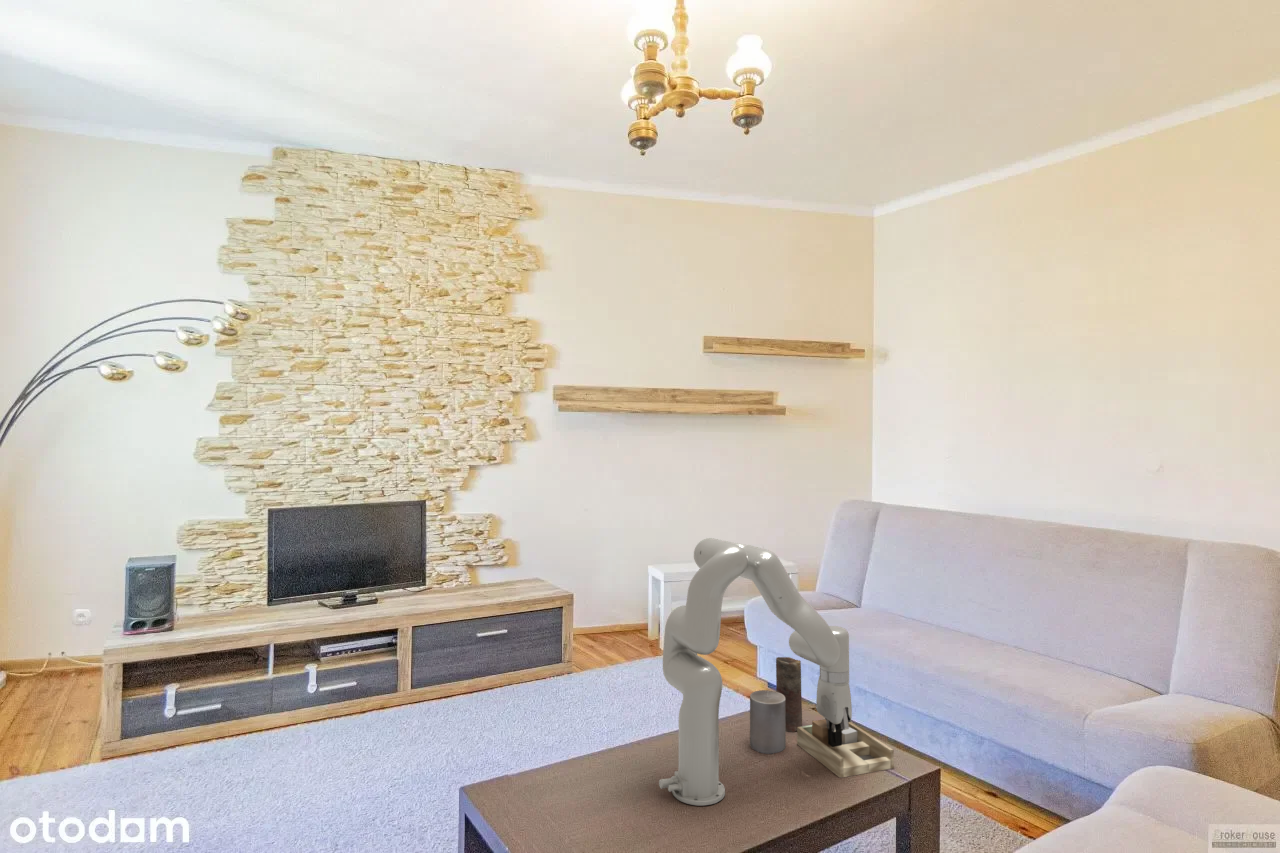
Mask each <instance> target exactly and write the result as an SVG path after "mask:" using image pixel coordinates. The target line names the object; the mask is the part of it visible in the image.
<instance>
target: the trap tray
mask: <svg viewBox="0 0 1280 853" xmlns="http://www.w3.org/2000/svg"><path fill="white" fill-rule="evenodd" d="M838 724H839V723H838ZM848 725H849V727H850V728H852V729H854V730H856V731H857V742H856V743H850V744H844V745H841V746H835V747H832V746H826V745H825V744H823V743H822V742H821V741H819V740H818V739H817V738H815V737H814V736H813V735H812V724H810V725H802V726H801V727H797V730H796V735H797V736H796V743H797V746H799V747H800V748H801V749H802V750H803V751H804V752H806V753H808V754H809V755H810V756H811V757H813V758H814V759H815V760H816V761H817V762H819V763H820V764H822V765H823V766H824V767H825V768H826V769H828V770H829V771H830V772H832V773H833V774H834V775H836V776H837V777H838V778H839V779H841V778H842V779H843V778H849V777H853V776H859V775H864V774H871V773H875V772H880V771H887V770H892V769H895V766H894V764H895V760H894V759H895V758H894V757H895V753H894V752H895V751H894V750H895V749H894V748H892V747H890V746H889V745H887V744H886V743H884V742H882V741H881V740H880V739H878V738H876V737H875V736H873V735H872V734H870V733H869V732H867V731H865V730H864V729H863V728H861V727H860V726H858V725H856V724H855V723H854V722H852V721H851V722H848Z"/></svg>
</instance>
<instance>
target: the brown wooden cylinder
mask: <svg viewBox="0 0 1280 853" xmlns="http://www.w3.org/2000/svg"><path fill="white" fill-rule="evenodd" d="M775 671H776V672H775V677H776V678H775V680H776V682H775V683H776V686H775V687H776V692H779V693H781V694H783V695H784V696H785V712H786V713H785V723H786V733H795V732H797V727H801V726H803V705H802V704H803V703H802V699H803V698H802V661H801V660H800V659H795V658H793V657H790V656H787V657H786V656H785V657H784V656H782V657H780V656H778V657H776V658H775Z"/></svg>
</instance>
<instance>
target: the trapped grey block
mask: <svg viewBox="0 0 1280 853" xmlns="http://www.w3.org/2000/svg"><path fill="white" fill-rule="evenodd" d="M856 742H857V731H856V730H854V729H852V728H850V727H849V729H846V730H843V731H842V745H844V744H850V743H856Z"/></svg>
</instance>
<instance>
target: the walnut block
mask: <svg viewBox="0 0 1280 853" xmlns="http://www.w3.org/2000/svg"><path fill="white" fill-rule="evenodd" d="M811 725H812V735H813V736H814V737H815V738H817V739H818V740H819V741H821V742H822V743H823V744H825V745H826V746H831V745H829V744H828V728H827V724H826V719H825V718H824V719H823V718H822V719H817V720H812V722H811Z"/></svg>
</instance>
